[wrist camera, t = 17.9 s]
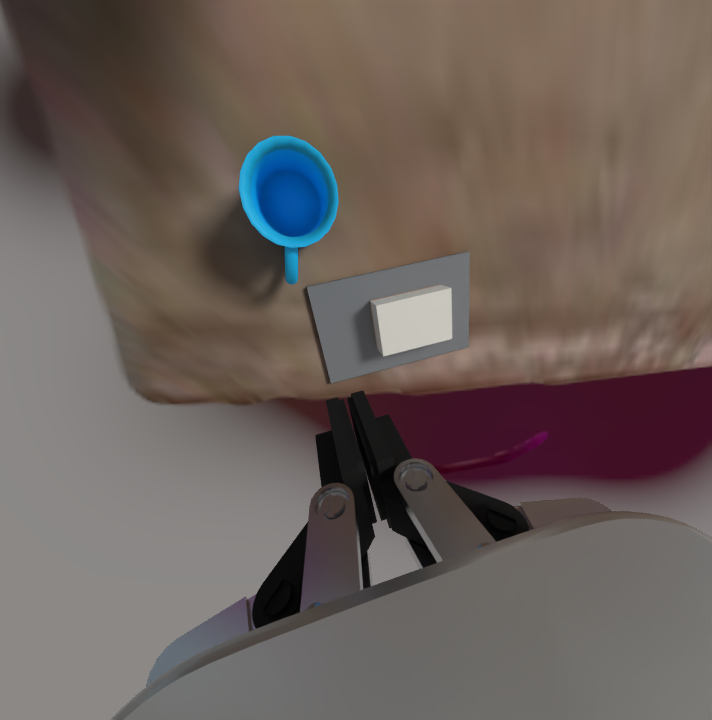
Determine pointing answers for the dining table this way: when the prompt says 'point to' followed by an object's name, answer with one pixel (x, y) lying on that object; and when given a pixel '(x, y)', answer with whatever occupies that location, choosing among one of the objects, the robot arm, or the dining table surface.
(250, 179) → the mug
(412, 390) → the dining table surface
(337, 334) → the mat
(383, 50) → the dining table surface
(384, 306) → the white rectangular block
